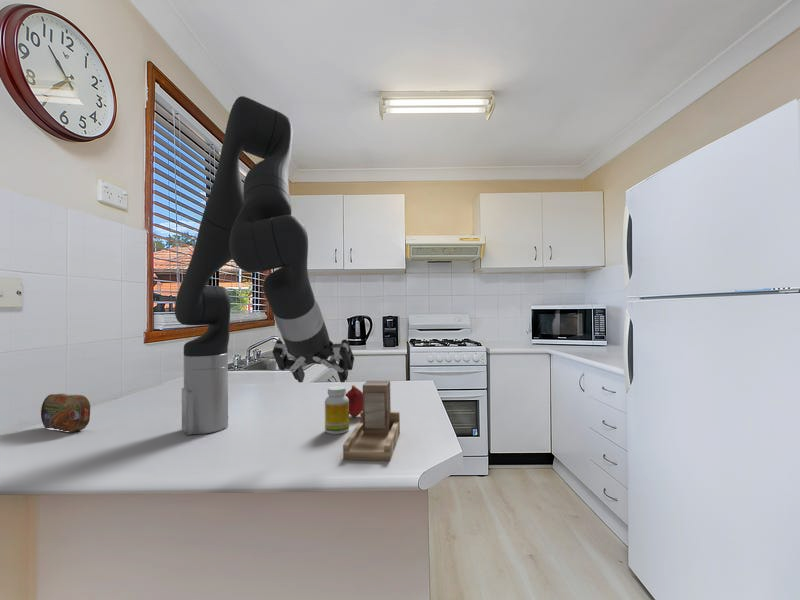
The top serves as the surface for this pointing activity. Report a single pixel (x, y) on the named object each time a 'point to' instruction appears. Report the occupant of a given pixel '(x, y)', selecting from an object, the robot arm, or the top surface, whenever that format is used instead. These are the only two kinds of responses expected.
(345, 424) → the supplement bottle
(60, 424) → the tin
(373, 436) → the wooden box stand
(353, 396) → the onion
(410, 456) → the top surface
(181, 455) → the top surface
